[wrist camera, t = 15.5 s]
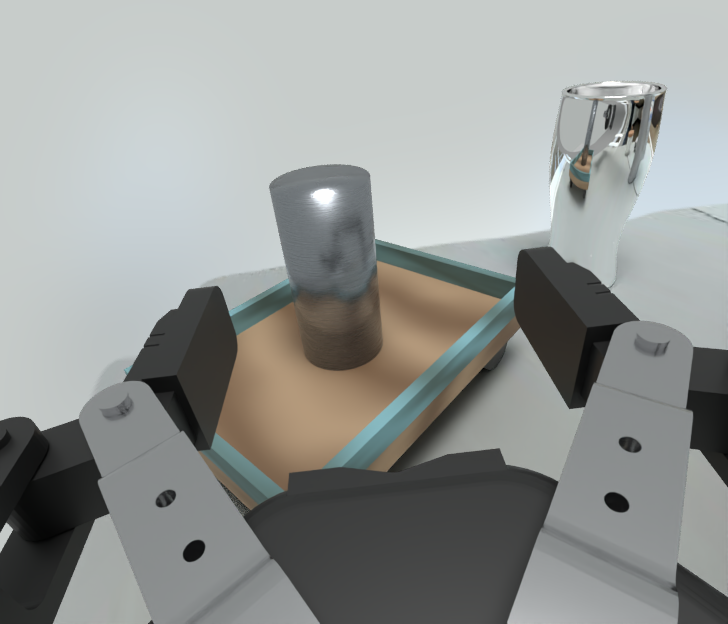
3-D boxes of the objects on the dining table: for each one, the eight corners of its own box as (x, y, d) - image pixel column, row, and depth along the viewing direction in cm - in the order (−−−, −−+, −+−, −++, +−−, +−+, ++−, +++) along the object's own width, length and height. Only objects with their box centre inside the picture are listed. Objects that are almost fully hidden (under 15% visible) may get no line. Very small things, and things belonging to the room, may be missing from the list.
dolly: (370, 297, 40) (364, 236, 36) (521, 355, 31) (531, 282, 28) (161, 442, 28) (124, 369, 24) (315, 596, 19) (289, 517, 16)
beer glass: (518, 275, 40) (538, 93, 32) (564, 250, 44) (594, 78, 35) (591, 305, 36) (636, 100, 27) (637, 274, 39) (690, 82, 30)
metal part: (343, 311, 30) (322, 159, 24) (399, 338, 27) (390, 173, 21) (287, 348, 27) (249, 186, 21) (343, 382, 24) (316, 206, 18)
